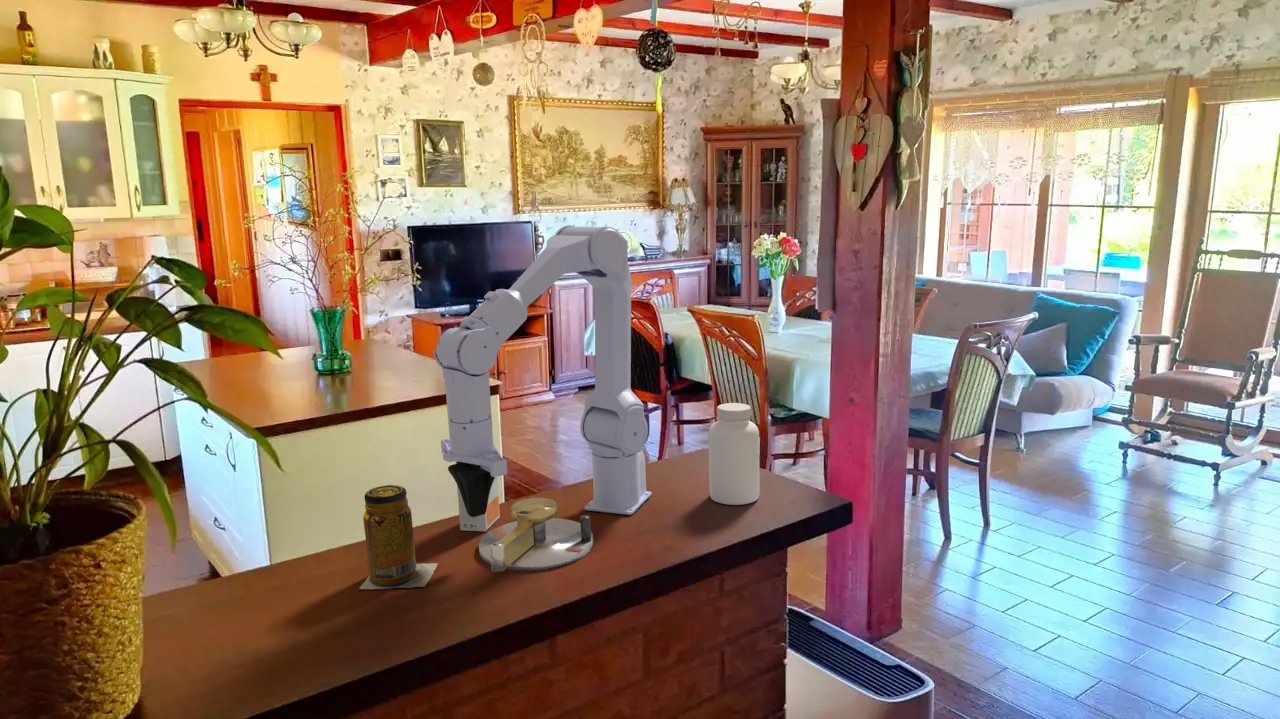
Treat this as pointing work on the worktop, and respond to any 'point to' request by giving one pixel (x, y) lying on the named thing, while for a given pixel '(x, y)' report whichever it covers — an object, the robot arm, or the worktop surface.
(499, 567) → the brass latch lever
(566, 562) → the grey round base plate
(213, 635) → the worktop surface
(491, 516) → the skincare box
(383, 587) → the condiment
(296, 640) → the worktop surface
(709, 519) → the worktop surface
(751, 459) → the pill bottle
